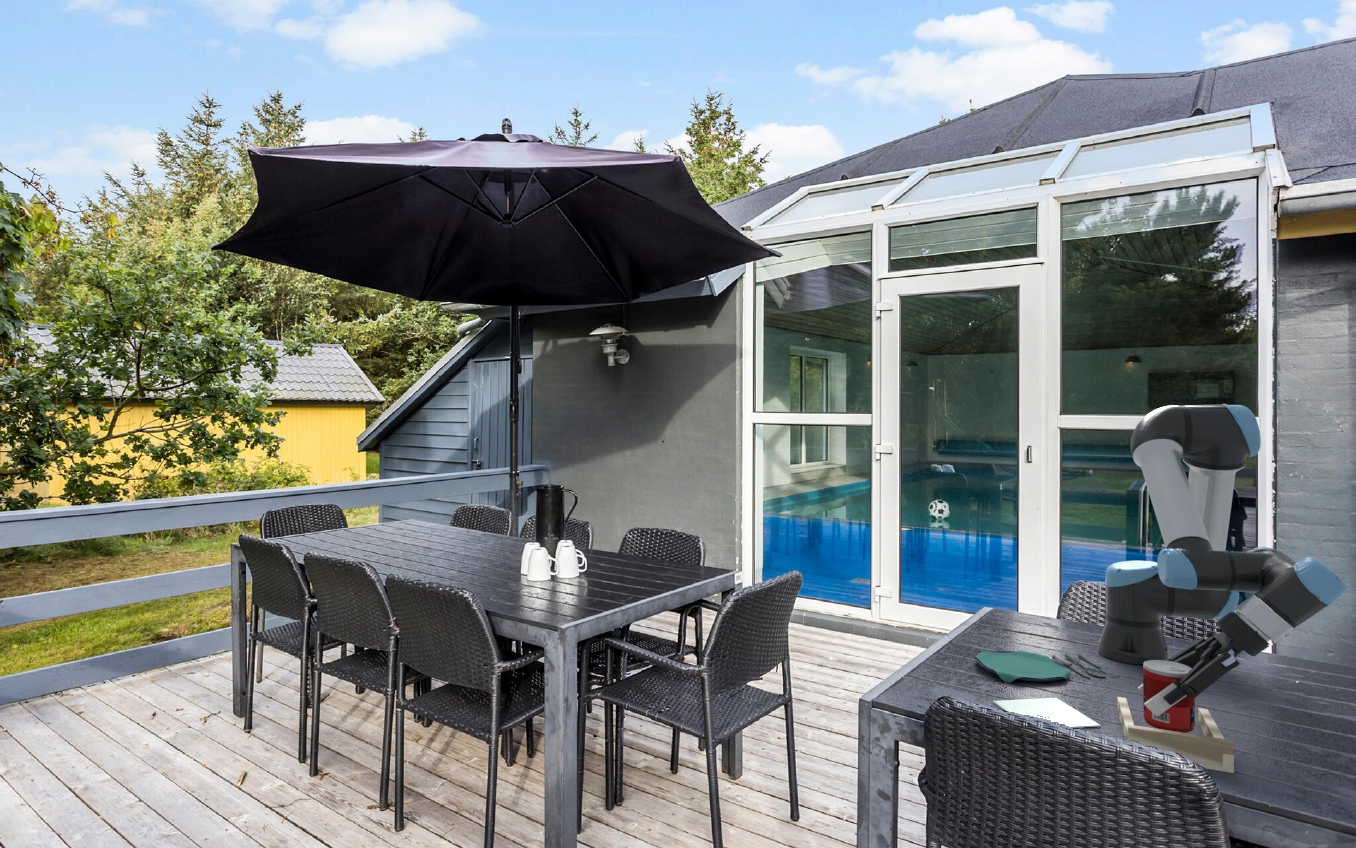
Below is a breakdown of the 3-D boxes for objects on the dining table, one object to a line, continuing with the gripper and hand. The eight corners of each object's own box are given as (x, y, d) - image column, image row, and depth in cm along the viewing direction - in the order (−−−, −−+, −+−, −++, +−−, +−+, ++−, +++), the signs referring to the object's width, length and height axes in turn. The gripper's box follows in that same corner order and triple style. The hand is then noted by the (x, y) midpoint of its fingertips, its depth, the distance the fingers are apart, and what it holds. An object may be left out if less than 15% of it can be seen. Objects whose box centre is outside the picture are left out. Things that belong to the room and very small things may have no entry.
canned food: (1203, 735, 131) (1202, 675, 131) (1154, 732, 132) (1153, 672, 132) (1182, 717, 138) (1182, 660, 138) (1136, 715, 140) (1136, 658, 140)
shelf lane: (1117, 711, 147) (1117, 686, 147) (1207, 724, 140) (1207, 698, 140) (1129, 755, 128) (1128, 727, 128) (1234, 773, 121) (1233, 743, 121)
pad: (1056, 699, 153) (1056, 697, 153) (1100, 727, 139) (1100, 725, 139) (993, 702, 152) (993, 701, 152) (1031, 731, 138) (1031, 729, 138)
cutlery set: (961, 658, 181) (961, 649, 181) (1078, 657, 182) (1078, 648, 182) (1000, 688, 161) (1000, 678, 161) (1131, 687, 162) (1131, 677, 162)
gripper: (1290, 661, 119) (1173, 740, 126) (1254, 627, 138) (1154, 698, 145) (1249, 626, 121) (1138, 706, 129) (1220, 596, 140) (1123, 668, 147)
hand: (1147, 701), depth 137 cm, fingers closed on canned food, 8 cm apart
